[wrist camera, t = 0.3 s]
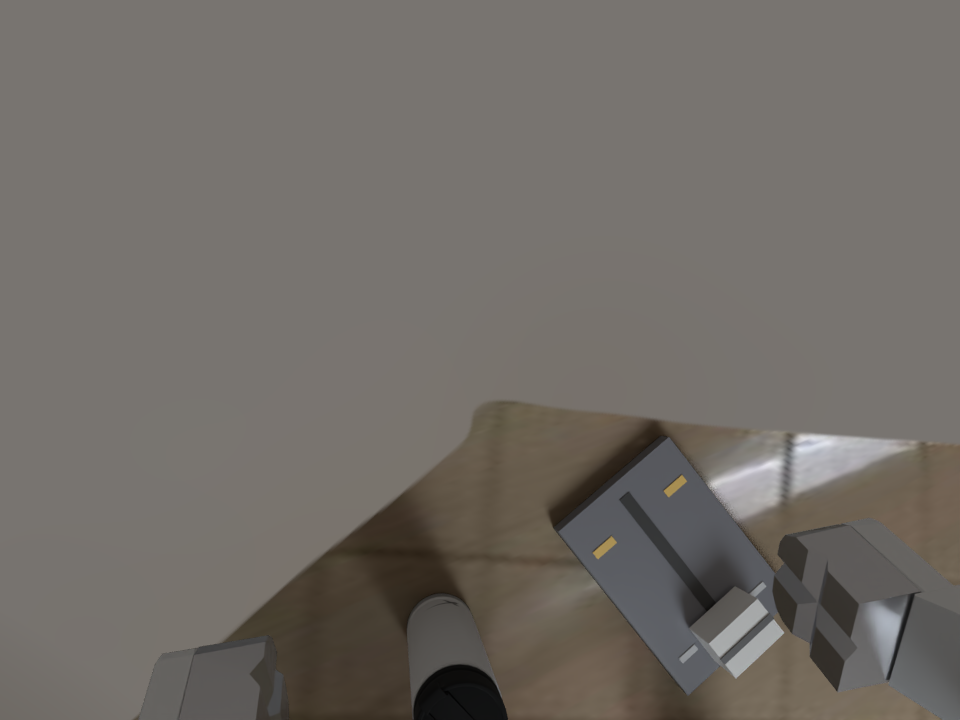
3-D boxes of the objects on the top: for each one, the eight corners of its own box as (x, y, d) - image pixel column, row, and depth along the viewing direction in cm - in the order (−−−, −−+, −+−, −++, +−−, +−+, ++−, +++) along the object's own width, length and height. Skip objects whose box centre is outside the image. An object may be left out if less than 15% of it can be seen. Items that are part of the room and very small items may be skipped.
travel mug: (440, 575, 63) (463, 659, 43) (487, 627, 63) (530, 733, 43) (390, 623, 62) (389, 730, 42) (437, 675, 62) (458, 805, 43)
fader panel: (781, 591, 67) (794, 597, 65) (679, 686, 65) (688, 696, 63) (660, 435, 66) (669, 437, 64) (553, 527, 64) (558, 532, 62)
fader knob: (760, 618, 64) (785, 633, 60) (714, 661, 63) (736, 679, 59) (735, 585, 64) (758, 598, 60) (688, 628, 63) (709, 644, 59)
